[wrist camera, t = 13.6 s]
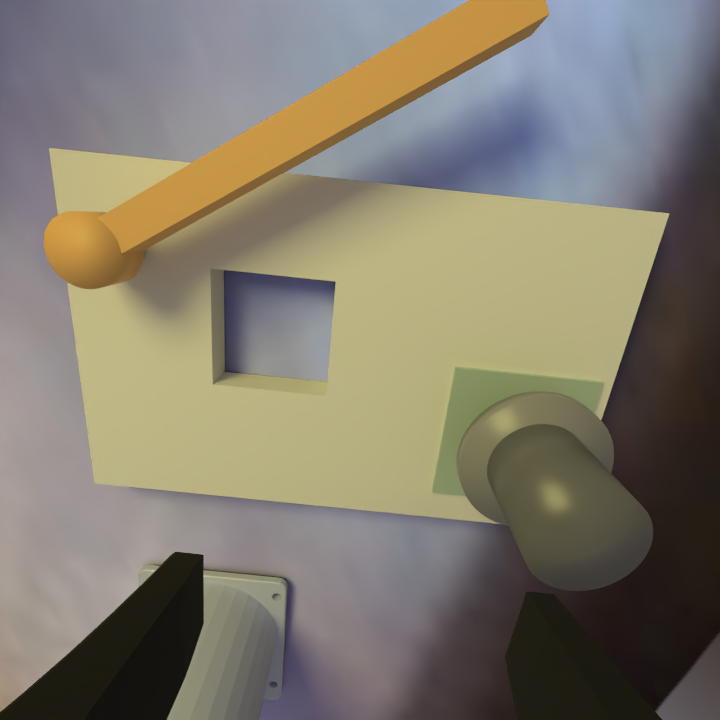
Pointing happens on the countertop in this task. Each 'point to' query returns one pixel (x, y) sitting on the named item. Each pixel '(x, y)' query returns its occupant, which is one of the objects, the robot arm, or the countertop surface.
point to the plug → (554, 489)
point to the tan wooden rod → (285, 140)
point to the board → (347, 333)
